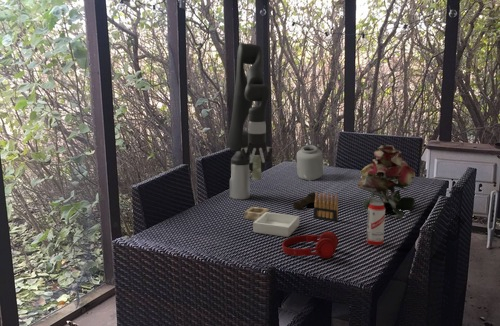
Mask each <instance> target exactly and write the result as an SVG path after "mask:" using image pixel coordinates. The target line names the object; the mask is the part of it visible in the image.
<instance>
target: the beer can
mask: <svg viewBox="0 0 500 326" xmlns="http://www.w3.org/2000/svg"><path fill="white" fill-rule="evenodd" d="M385 213H386V211H385V207H384V203H382V202H377V201H374V202H370V205H369V207H368V213H367V221H366V222H367V223H366V239H365V240H366V243H367V244H368V245H369V244H370V245H369V246H371V245H374V246H373V247H378V246H377V245H380V246H382V245H383V244H384V237H385V223H386V221H385V219H386V215H385Z"/></svg>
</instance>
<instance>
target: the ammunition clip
mask: <svg viewBox="0 0 500 326" xmlns="http://www.w3.org/2000/svg"><path fill="white" fill-rule="evenodd" d="M313 219H315V220H316V219H317V220H321V221H328V222H335V223H336V222H339V200H338V194H335V197H334V194H333V193H331V195H330V193H327V195H326V192H324V193H323V195H322V192H321V191H320V193H319V194H318V191H316V192H315V201H314V208H313Z"/></svg>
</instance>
